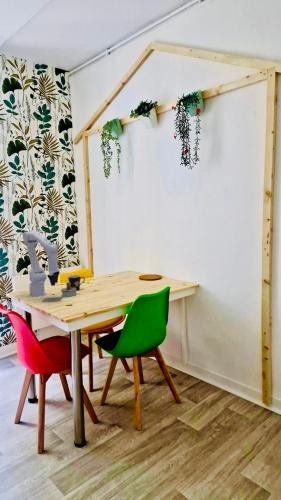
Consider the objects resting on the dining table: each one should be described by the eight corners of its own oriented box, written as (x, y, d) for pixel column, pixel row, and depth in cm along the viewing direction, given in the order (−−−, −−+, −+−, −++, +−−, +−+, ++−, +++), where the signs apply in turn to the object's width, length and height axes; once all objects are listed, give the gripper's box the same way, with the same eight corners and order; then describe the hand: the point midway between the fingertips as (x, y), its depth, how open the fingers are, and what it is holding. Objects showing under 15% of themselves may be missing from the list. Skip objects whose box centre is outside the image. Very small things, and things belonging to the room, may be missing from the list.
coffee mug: (68, 292, 235) (67, 278, 234) (69, 289, 244) (68, 275, 242) (85, 290, 237) (84, 276, 236) (85, 287, 246) (84, 274, 245)
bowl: (61, 297, 221) (60, 292, 220) (63, 294, 230) (63, 289, 229) (74, 296, 221) (74, 291, 221) (77, 293, 230) (76, 288, 230)
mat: (41, 302, 210) (41, 302, 210) (45, 298, 220) (45, 297, 220) (60, 301, 211) (60, 301, 211) (63, 297, 220) (63, 297, 220)
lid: (60, 292, 220) (59, 284, 219) (62, 289, 229) (61, 281, 229) (75, 291, 221) (75, 283, 220) (76, 288, 231) (76, 280, 230)
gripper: (56, 264, 205) (58, 286, 207) (61, 261, 220) (62, 281, 221) (45, 265, 205) (46, 287, 207) (50, 261, 220) (52, 281, 221)
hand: (54, 284), depth 214 cm, fingers open, 7 cm apart
